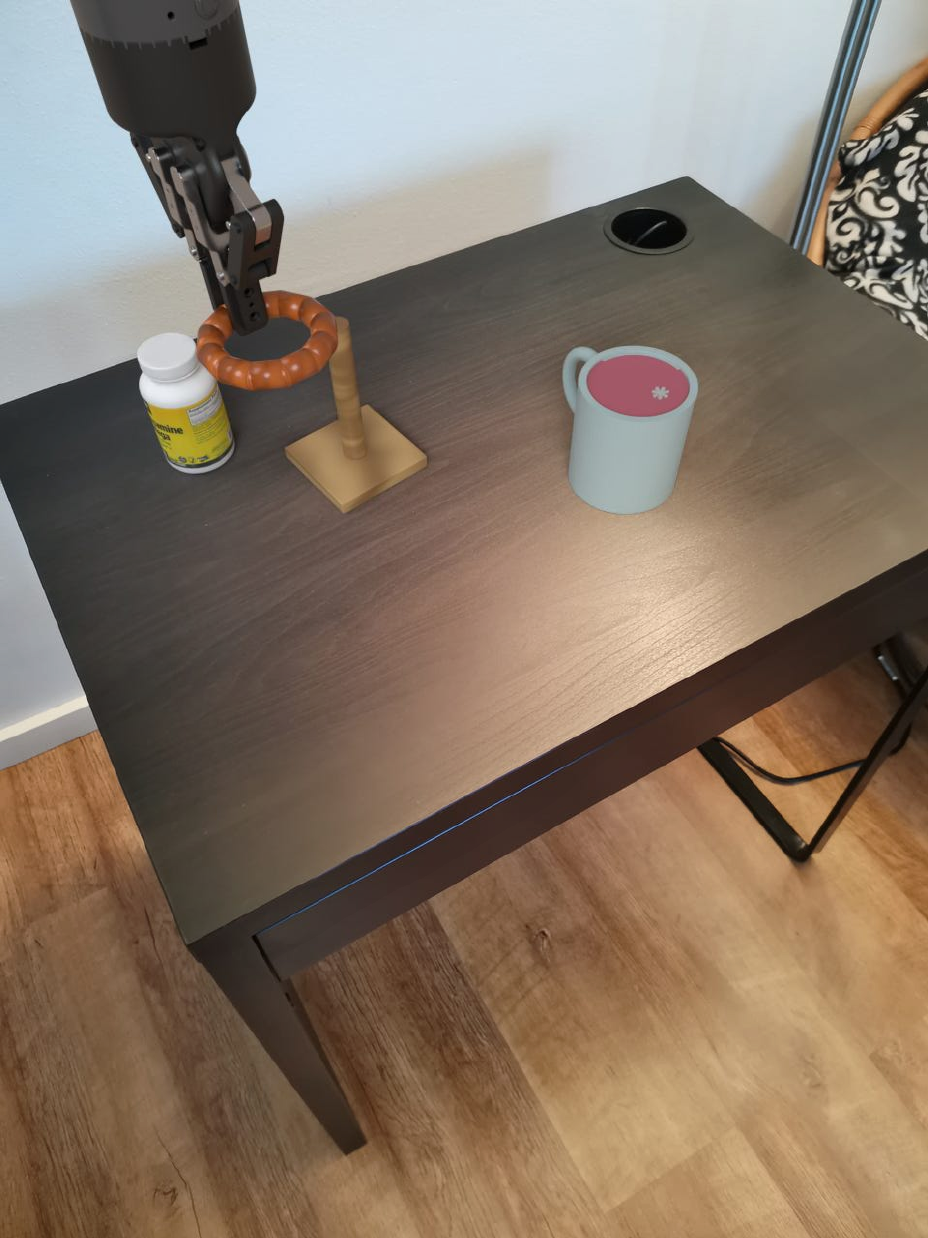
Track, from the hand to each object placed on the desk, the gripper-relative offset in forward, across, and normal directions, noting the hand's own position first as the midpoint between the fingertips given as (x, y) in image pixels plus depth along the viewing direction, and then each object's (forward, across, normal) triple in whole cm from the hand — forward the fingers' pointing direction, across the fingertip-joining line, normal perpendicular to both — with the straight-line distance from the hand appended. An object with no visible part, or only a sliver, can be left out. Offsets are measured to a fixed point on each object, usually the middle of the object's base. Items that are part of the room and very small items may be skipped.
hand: (242, 319), depth 55 cm
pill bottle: (+22, -15, -1) cm, 26 cm away
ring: (0, +3, 0) cm, 3 cm away
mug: (+22, +8, +26) cm, 35 cm away
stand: (+22, -5, +9) cm, 24 cm away
